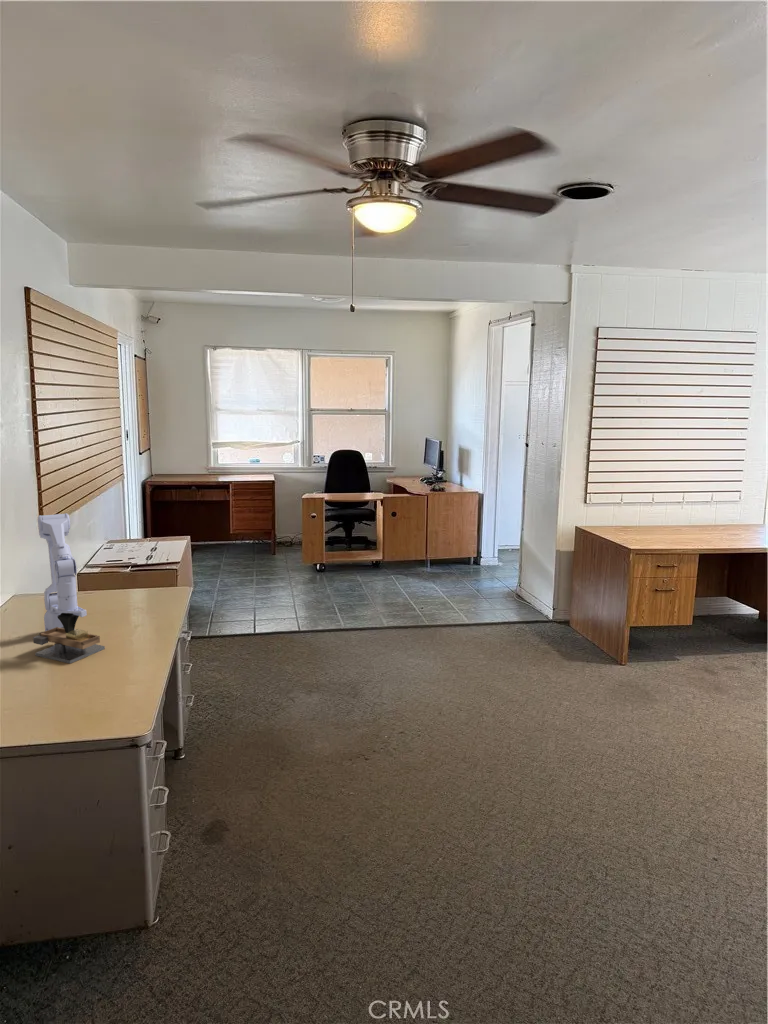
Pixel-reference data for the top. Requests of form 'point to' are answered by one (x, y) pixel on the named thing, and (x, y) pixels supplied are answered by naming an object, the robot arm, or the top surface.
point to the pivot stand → (68, 652)
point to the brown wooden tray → (64, 638)
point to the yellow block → (77, 635)
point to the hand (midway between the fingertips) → (70, 634)
